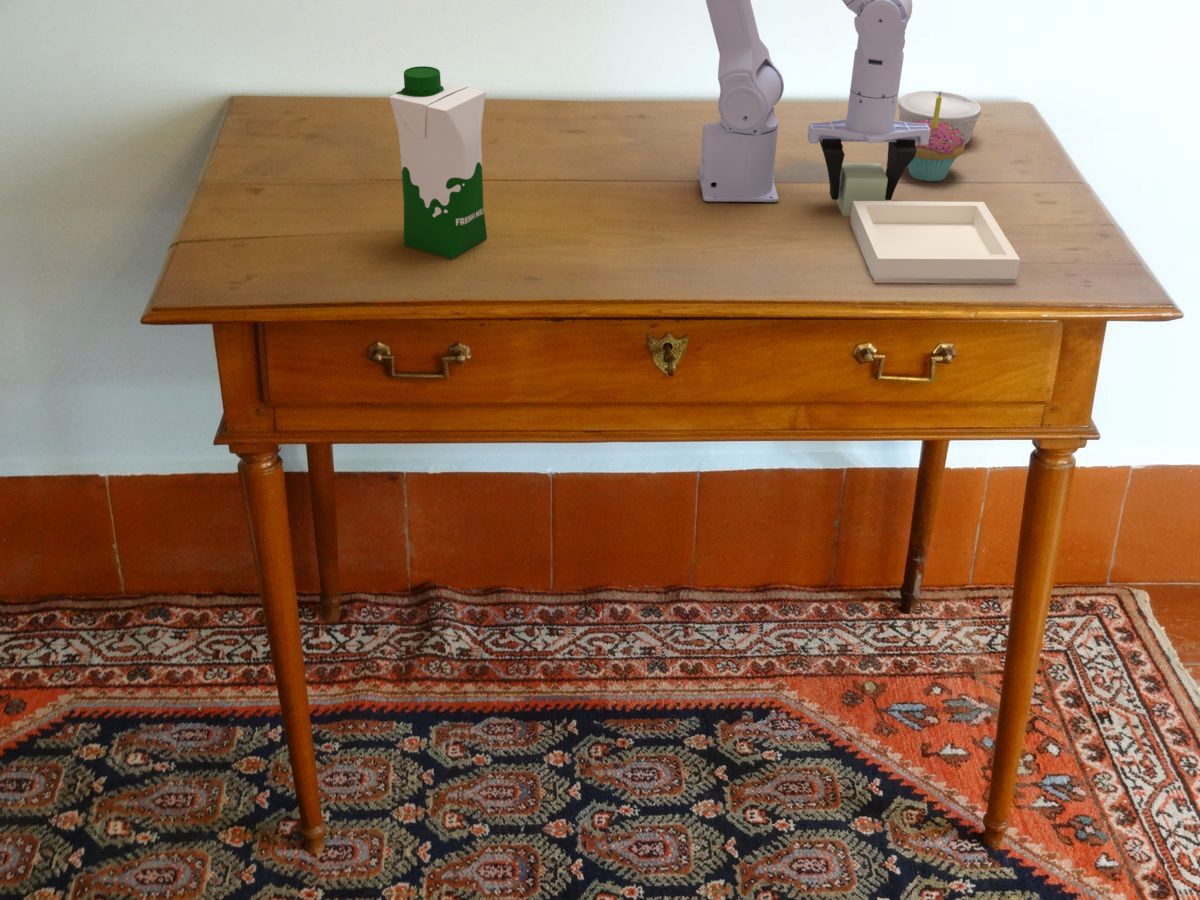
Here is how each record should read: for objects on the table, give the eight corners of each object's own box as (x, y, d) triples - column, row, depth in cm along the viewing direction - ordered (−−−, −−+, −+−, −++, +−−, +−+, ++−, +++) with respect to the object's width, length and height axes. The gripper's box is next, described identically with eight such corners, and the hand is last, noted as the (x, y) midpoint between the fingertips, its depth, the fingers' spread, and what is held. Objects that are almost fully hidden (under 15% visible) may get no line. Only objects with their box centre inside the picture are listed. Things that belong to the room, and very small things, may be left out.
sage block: (842, 216, 168) (847, 178, 165) (835, 200, 172) (840, 162, 169) (882, 216, 168) (887, 178, 165) (874, 200, 172) (880, 163, 169)
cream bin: (874, 282, 152) (877, 258, 150) (850, 223, 165) (852, 200, 164) (1015, 283, 153) (1020, 259, 151) (979, 224, 166) (983, 201, 164)
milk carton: (438, 220, 164) (429, 57, 153) (498, 238, 160) (494, 72, 149) (392, 246, 158) (379, 78, 147) (454, 265, 154) (446, 94, 143)
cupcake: (959, 189, 175) (975, 99, 168) (893, 183, 176) (906, 94, 170) (958, 165, 182) (973, 77, 175) (894, 159, 183) (907, 72, 177)
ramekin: (986, 136, 192) (992, 100, 189) (958, 160, 184) (964, 123, 181) (911, 120, 196) (917, 84, 194) (881, 143, 189) (886, 106, 186)
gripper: (819, 101, 158) (807, 209, 165) (942, 102, 158) (924, 210, 166) (810, 81, 164) (799, 186, 171) (928, 82, 164) (912, 187, 172)
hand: (860, 196), depth 169 cm, fingers open, 6 cm apart
